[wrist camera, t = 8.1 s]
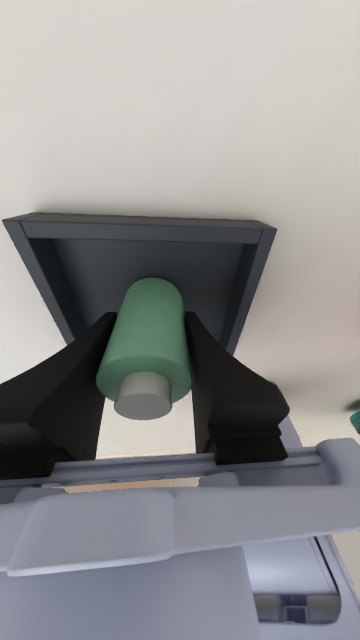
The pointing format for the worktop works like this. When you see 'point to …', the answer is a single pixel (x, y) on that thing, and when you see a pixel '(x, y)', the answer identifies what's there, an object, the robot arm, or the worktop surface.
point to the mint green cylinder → (147, 352)
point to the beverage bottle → (356, 421)
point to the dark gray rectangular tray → (143, 265)
